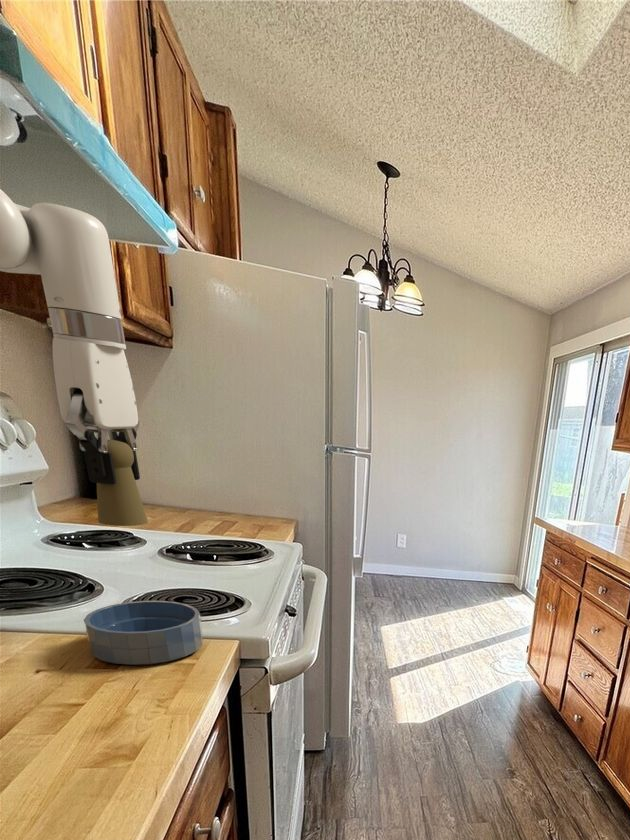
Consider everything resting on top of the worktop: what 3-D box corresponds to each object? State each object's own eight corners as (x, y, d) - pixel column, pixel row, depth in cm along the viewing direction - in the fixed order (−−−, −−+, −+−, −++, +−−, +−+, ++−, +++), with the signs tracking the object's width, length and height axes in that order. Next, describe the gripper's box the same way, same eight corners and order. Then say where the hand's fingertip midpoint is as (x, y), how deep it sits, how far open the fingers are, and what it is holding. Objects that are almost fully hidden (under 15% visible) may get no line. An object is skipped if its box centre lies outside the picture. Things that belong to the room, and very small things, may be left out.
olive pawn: (101, 526, 77) (84, 440, 72) (95, 518, 81) (78, 436, 76) (152, 525, 81) (139, 444, 76) (143, 517, 84) (130, 439, 80)
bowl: (69, 664, 73) (60, 628, 71) (125, 628, 85) (119, 597, 83) (178, 671, 75) (172, 636, 73) (218, 635, 87) (214, 604, 85)
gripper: (97, 336, 78) (121, 472, 85) (6, 316, 62) (46, 484, 70) (154, 343, 79) (173, 478, 86) (78, 325, 63) (109, 491, 71)
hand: (115, 479), depth 78 cm, fingers closed on olive pawn, 5 cm apart
